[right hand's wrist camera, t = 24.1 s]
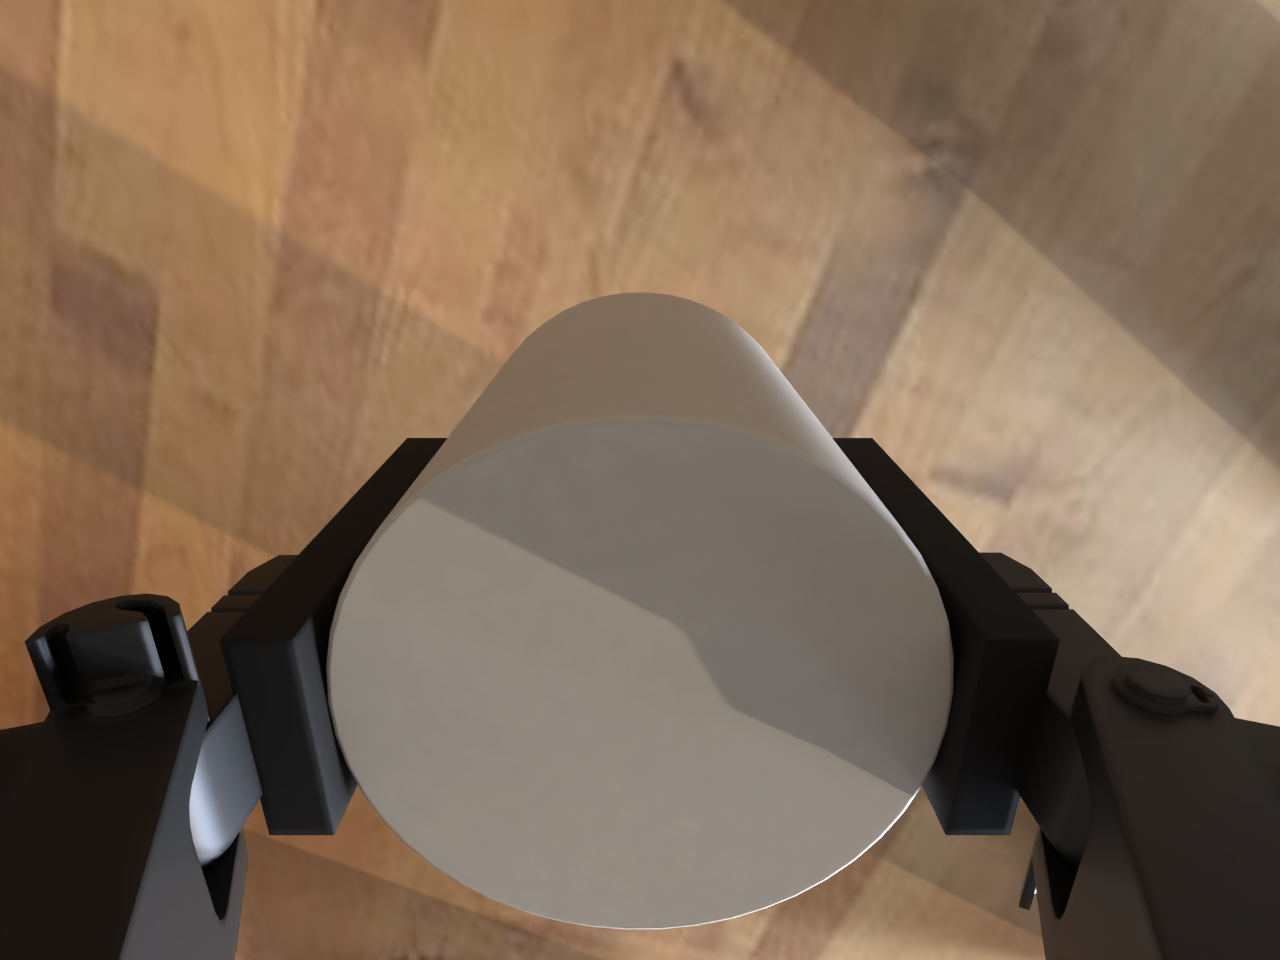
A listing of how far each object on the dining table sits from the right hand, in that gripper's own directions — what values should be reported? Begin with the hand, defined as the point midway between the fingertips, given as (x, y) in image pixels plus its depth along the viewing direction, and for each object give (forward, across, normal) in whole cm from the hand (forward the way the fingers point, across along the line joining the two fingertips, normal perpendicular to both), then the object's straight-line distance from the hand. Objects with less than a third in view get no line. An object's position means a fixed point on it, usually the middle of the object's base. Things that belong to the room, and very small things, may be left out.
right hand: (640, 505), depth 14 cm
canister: (+3, 0, 0) cm, 3 cm away
